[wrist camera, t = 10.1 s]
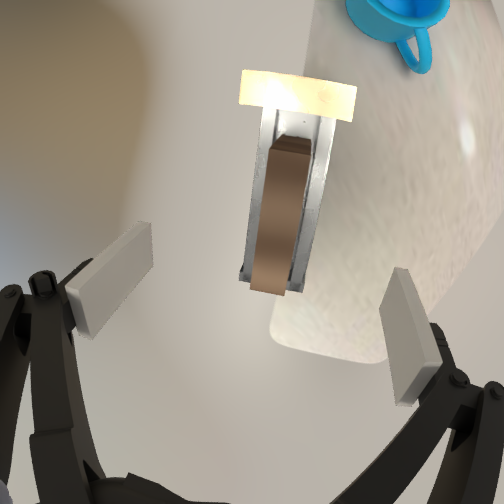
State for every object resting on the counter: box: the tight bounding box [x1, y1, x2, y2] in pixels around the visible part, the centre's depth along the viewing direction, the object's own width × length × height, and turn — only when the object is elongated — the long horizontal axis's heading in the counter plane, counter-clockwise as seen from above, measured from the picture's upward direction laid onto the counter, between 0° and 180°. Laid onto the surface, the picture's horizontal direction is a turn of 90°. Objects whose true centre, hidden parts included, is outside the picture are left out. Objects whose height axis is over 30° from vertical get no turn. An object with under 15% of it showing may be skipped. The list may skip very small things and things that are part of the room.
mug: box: [346, 0, 450, 74], centre depth 20 cm, size 12×8×8 cm
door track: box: [239, 69, 357, 293], centre depth 28 cm, size 22×7×12 cm, turn 173°
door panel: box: [250, 134, 311, 296], centre depth 29 cm, size 12×3×10 cm, turn 173°
